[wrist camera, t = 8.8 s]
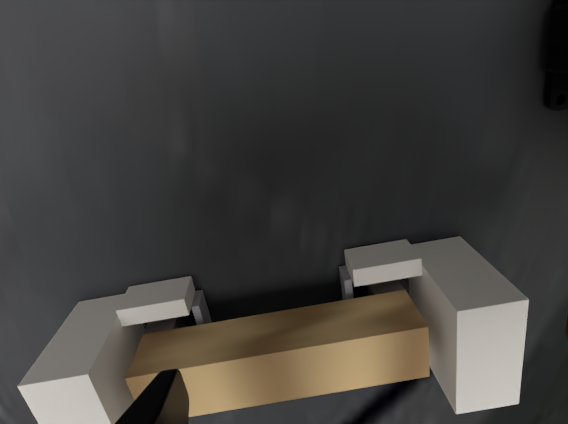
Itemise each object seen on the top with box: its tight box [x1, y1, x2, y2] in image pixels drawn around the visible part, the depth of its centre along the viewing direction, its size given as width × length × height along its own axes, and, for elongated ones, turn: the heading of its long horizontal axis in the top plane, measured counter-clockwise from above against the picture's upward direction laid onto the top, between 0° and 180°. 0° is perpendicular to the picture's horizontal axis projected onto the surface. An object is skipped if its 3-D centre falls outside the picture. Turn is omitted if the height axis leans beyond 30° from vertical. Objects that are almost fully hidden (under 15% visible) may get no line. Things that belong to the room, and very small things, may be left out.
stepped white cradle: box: [17, 236, 529, 424], centre depth 20 cm, size 22×7×6 cm, turn 99°
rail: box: [125, 279, 429, 417], centre depth 21 cm, size 14×3×5 cm, turn 99°
